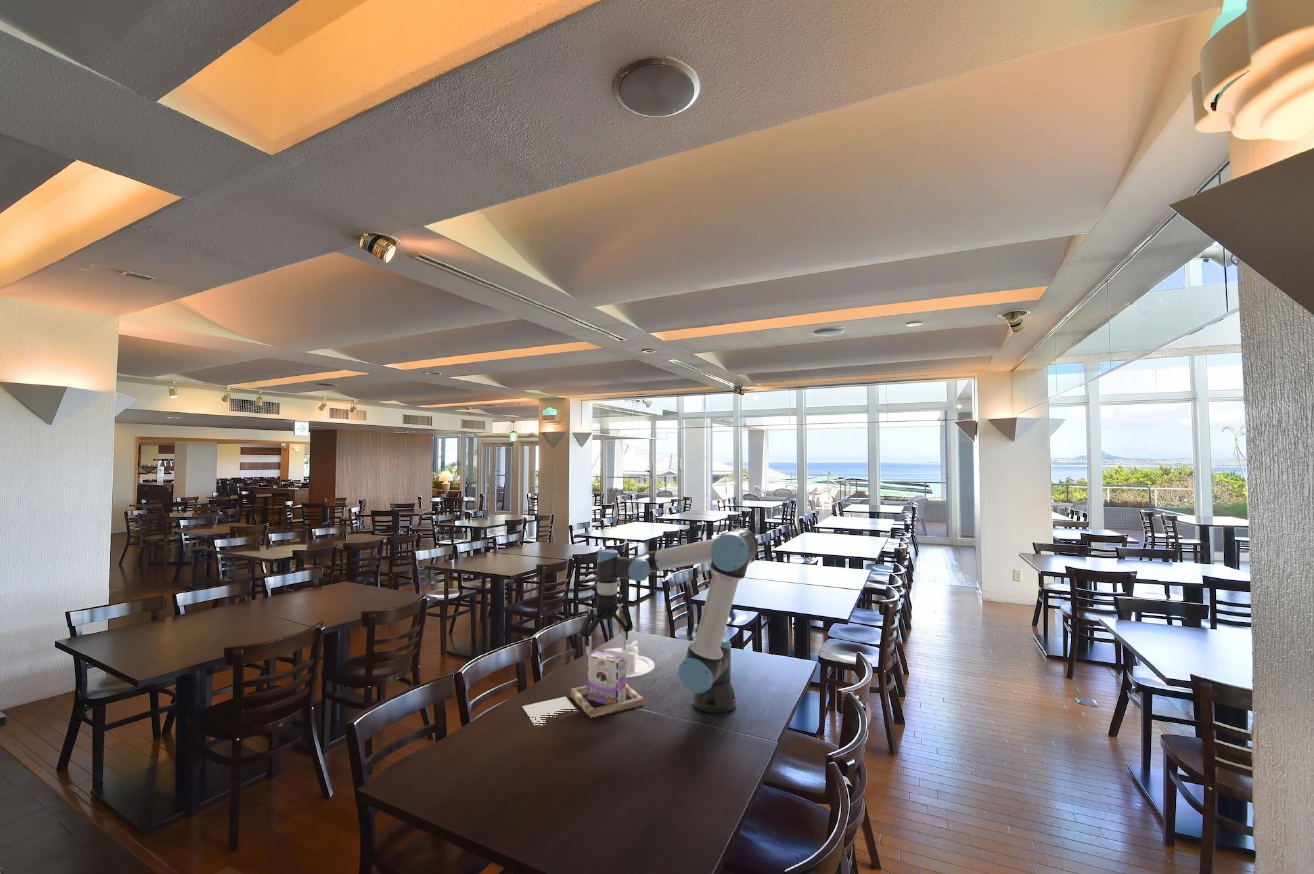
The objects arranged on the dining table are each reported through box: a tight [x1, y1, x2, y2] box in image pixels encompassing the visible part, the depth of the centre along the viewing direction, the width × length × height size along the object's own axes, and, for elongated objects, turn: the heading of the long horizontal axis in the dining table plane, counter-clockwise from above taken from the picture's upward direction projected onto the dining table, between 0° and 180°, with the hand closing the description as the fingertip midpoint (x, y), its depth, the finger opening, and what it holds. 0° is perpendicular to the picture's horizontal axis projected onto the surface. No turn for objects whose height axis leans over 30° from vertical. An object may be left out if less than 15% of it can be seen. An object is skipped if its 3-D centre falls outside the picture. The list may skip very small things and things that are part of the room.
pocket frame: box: [570, 683, 645, 719], centre depth 193 cm, size 20×20×3 cm
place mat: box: [521, 696, 578, 726], centre depth 183 cm, size 20×16×1 cm
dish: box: [603, 640, 656, 679], centre depth 225 cm, size 25×25×11 cm
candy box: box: [586, 650, 627, 706], centre depth 193 cm, size 14×6×16 cm, turn 58°
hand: (606, 651), depth 194 cm, fingers open, 13 cm apart
